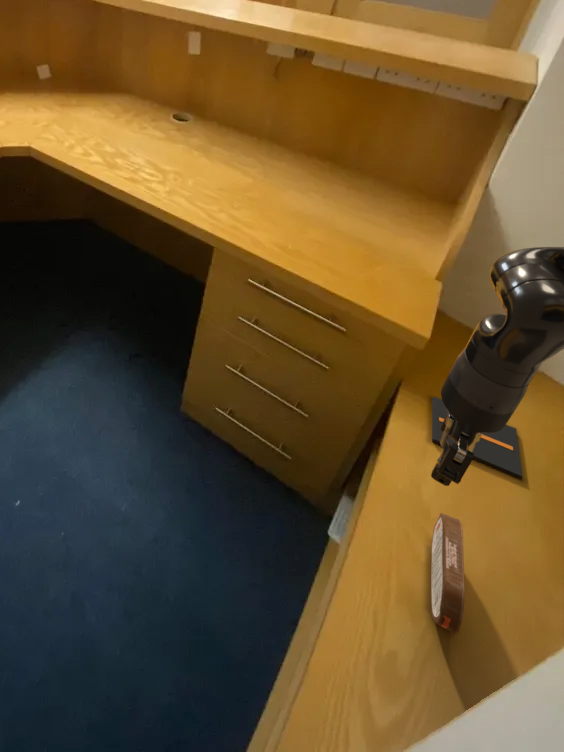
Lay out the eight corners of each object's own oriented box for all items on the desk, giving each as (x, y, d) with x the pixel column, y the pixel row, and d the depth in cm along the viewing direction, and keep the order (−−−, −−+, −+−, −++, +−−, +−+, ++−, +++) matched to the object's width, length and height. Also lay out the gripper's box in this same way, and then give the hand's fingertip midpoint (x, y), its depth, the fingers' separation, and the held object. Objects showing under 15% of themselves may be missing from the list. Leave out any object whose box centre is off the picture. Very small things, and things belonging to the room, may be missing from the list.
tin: (450, 645, 71) (471, 621, 67) (425, 630, 73) (444, 606, 68) (449, 536, 83) (466, 511, 78) (427, 526, 84) (443, 500, 80)
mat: (514, 430, 98) (516, 428, 97) (520, 478, 90) (523, 476, 90) (432, 398, 104) (433, 396, 103) (431, 441, 96) (433, 438, 96)
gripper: (515, 446, 59) (467, 516, 67) (521, 362, 69) (479, 432, 77) (442, 410, 63) (405, 480, 71) (458, 335, 73) (424, 404, 81)
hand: (444, 455), depth 74 cm, fingers open, 8 cm apart
